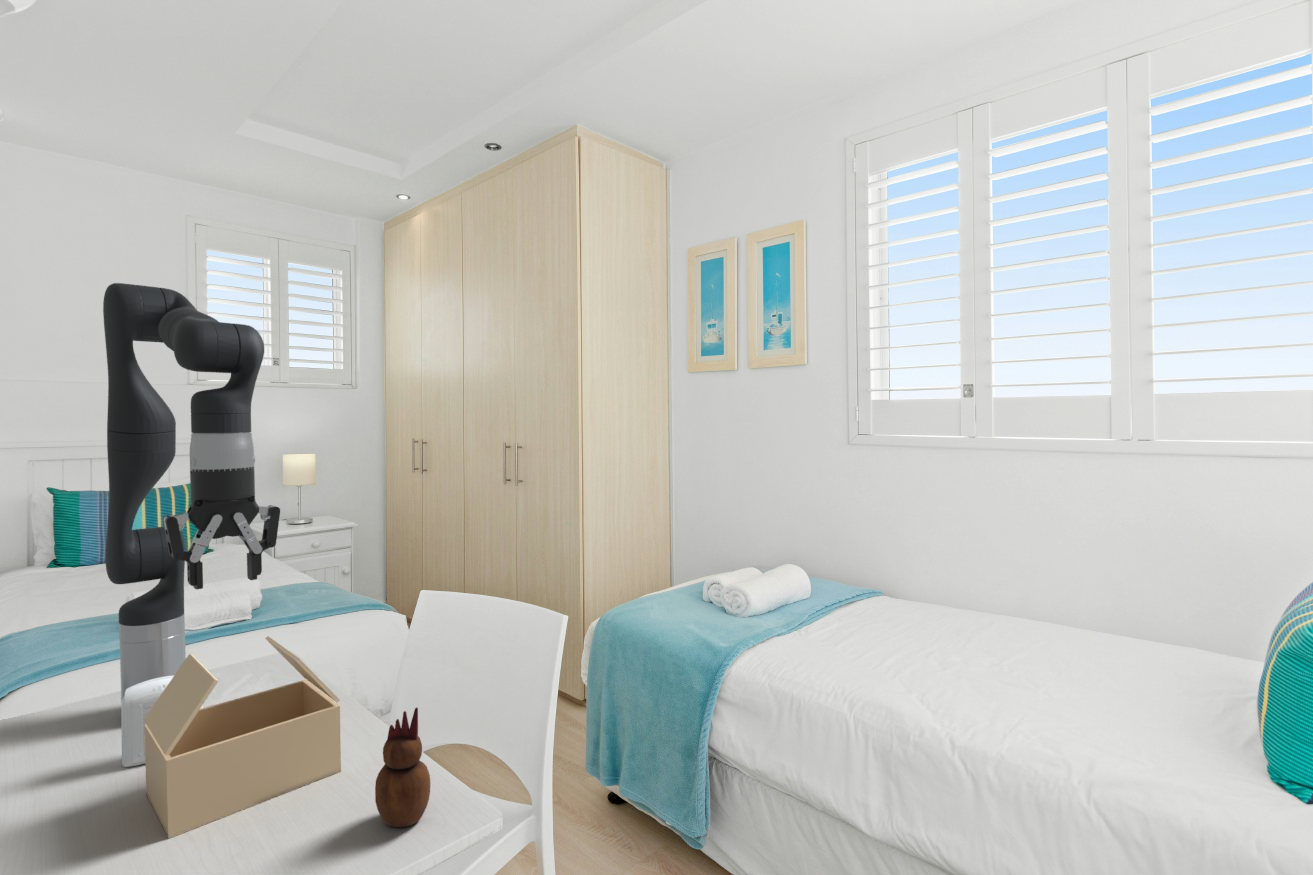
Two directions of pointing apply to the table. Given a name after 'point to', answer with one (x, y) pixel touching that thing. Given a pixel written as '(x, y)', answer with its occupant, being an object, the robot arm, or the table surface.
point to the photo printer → (138, 717)
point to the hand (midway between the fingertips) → (225, 583)
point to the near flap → (180, 703)
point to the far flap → (302, 669)
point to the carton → (243, 755)
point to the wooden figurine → (402, 776)
